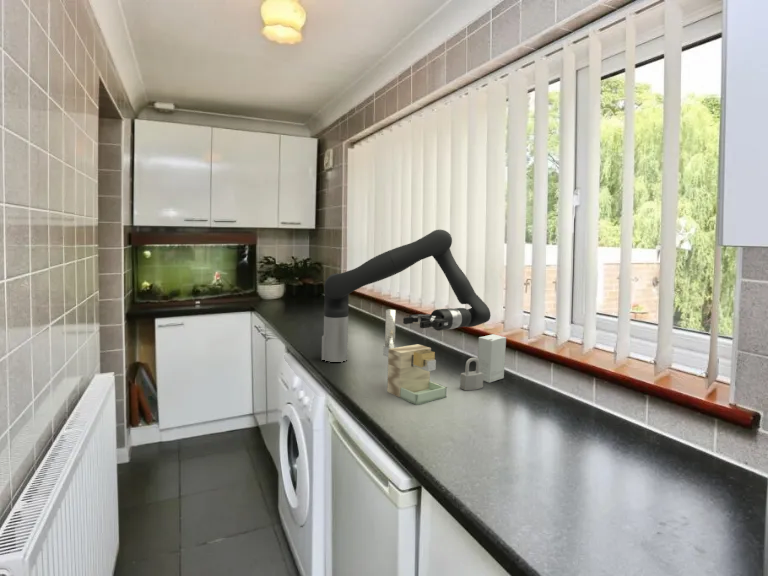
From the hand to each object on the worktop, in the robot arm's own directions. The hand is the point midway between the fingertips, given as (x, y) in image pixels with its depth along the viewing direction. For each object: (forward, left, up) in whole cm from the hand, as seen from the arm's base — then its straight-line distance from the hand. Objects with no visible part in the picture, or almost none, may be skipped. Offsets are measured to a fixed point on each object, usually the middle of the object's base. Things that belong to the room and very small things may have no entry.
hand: (412, 322), depth 151 cm
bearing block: (+2, -14, -19) cm, 23 cm away
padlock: (+21, -5, -19) cm, 29 cm away
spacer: (+7, -18, -9) cm, 21 cm away
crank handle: (+1, -13, -10) cm, 17 cm away
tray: (+7, -18, -19) cm, 27 cm away
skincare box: (+27, +7, -19) cm, 34 cm away
